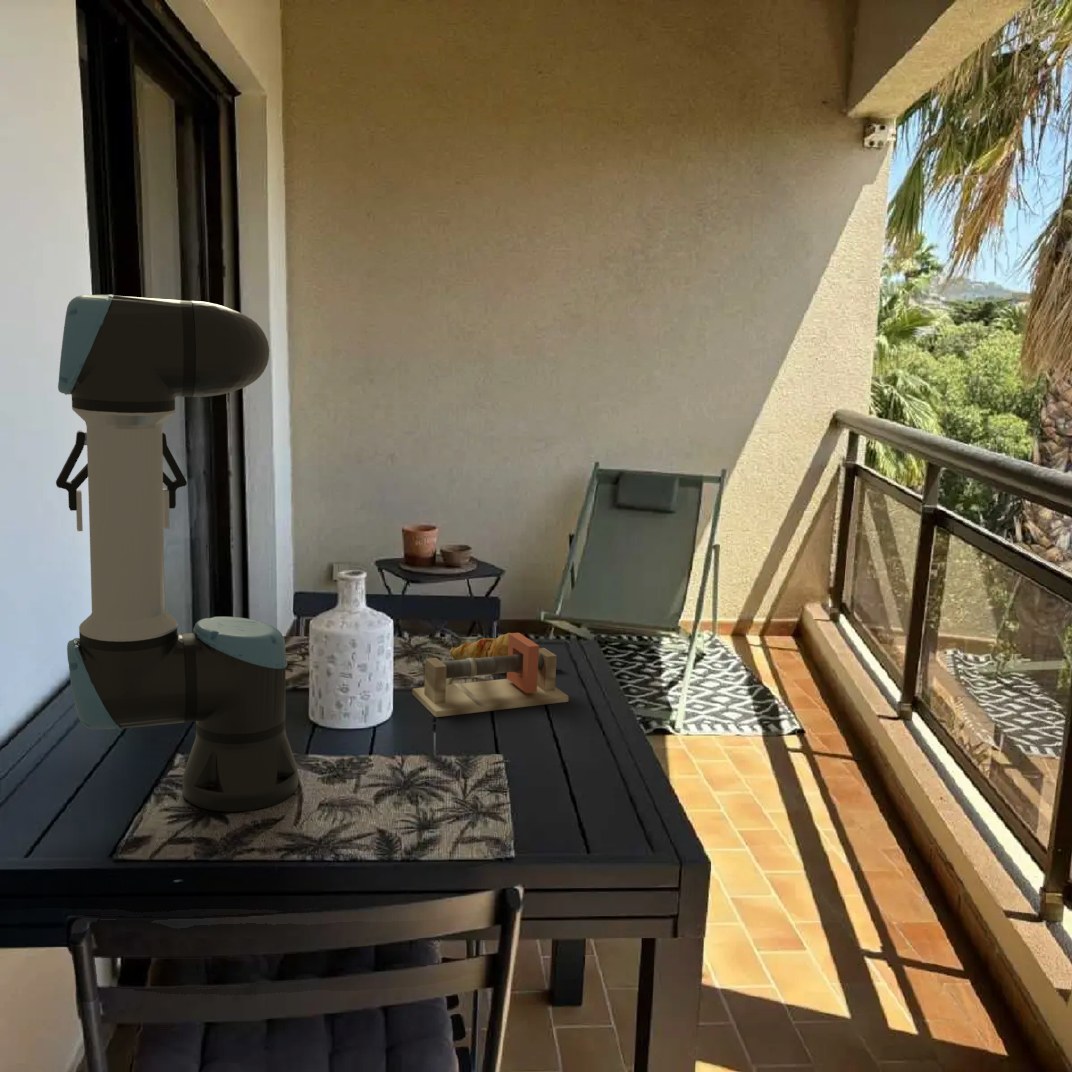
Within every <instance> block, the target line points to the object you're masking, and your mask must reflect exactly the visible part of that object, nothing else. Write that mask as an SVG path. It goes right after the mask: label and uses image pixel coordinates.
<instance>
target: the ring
mask: <svg viewBox="0 0 1072 1072" xmlns="http://www.w3.org/2000/svg"><path fill="white" fill-rule="evenodd" d="M508 633H509V641H508V655H517V654H523V671H516V672H507V673H506V679H508V680H510V681H511V682H512V683H514V684H515V685H516V686H517V687H519V688H520V689H521V690H523V691H524V692H525V693H533V692H537V677H538V659H539V648H540V645H539V644H537V643H536V642H534V641H533V640H531V639H529V638H528V637H526V636H525V635H524V634H522V633H520V632H508Z"/></svg>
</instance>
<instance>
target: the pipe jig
mask: <svg viewBox="0 0 1072 1072" xmlns="http://www.w3.org/2000/svg"><path fill="white" fill-rule="evenodd" d="M557 657H558V656H557V654H556V655H555V653H554V654H553V652H551V651H550V650H548V649H547V648H545V647H539V659H538V677H537V692H533V693H525V692H524V691H523V690H521V689H520V688H519V687H517V686H516V685H515V684H514V683H512V682H511V681H510V680H508V679H507V678H503V679H492V680H484V681H483V680H481V681H473V682H463V683H461V682H460V683H451V684H447V679H455V678H457V679H458V678H464V677H465V678H466V677H468V678H473V677H474V678H475V677H476V676H485V675H494V674H505V673H506V674H507V672H516V671H523V654H517V655H506V656H495V657H484V658H467V659H462V660H456V659H453V660H444V661H441V660H440V659H438V657H429V658H425V661H424V662H425V664H424V667H425V668H424V686H423V687H415V688H412V690H411V691H412V692H411V694H412V696H414V697H415V699H417V700H418V702H420V703H421V705H423V706H424V708H426V709H427V710H428V711H429V712H430V713H431V714H432V715H433V716H434V717H435V718H439V717H441V718H442V717H448V716H449V717H450V716H457V715H464V714H465V715H466V714H474V713H482V712H483V713H484V712H492V711H499V710H509V709H516V708H517V709H518V708H524V707H525V708H526V707H533V706H534V707H535V706H543V705H550V704H551V705H552V704H559V703H567V702H569V695H567V693H565V692H563V691H562V690H561V689H559V688H557V686H556V675H557V673H556V672H557V659H558V658H557Z"/></svg>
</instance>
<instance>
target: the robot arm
mask: <svg viewBox="0 0 1072 1072" xmlns="http://www.w3.org/2000/svg"><path fill="white" fill-rule="evenodd" d="M64 318H65V319H64V326H63V333H62V342H61V349H60V350H61V351H60V361H59V369H58V370H59V373H58V383H57V389H58V392H59V393H61V394H64V395H65V396H67V395H71V409H72V411H73V412H74V413H75V414H76V415H78V416H79V417H80V418H81V420H83V421H84V422H85V425H86V432H85V431H83V430H80V429H79V430H77V432H76V436H75V437H76V438H75V444H74V446H73V448H72V450H71V452H70V453H69V456H68V457H67V460H66V461H65V463H64V465H63V467H62V469H61V470H60V473H59V474H58V477H57V479H56V481H55V485H56V487H57V488H59V489H64V490H66V491H67V493H68V494H67V496H68V508H69V511H71V512H73V511H75V512H76V513H75V514H76V530H77V532H83V502H82V501H83V500H82V499H83V498H82V496H83V495H82V490H81V489H79V487H80V486H81V485H82V484H83V483H84V482H85V481H86V480H87V484H88V486H87V487H88V489H87V490H88V515H89V516H88V520H89V521H88V523H89V525H88V526H89V557H90V558H89V559H90V561H89V562H90V589H91V590H90V591H91V592H90V594H91V598H90V599H91V614H90V615H89V616H88V617H86V618H85V619H84V620H83V621H82V622H81V623H80V625H79V626H78V631H79V633H78V634H79V637H75V638H73V639H71V640H69V641H67V647H66V652H67V653H66V654H67V663H68V669H69V678H70V679H69V680H70V686H71V690H72V691H71V692H72V695H73V701H74V705H75V709H76V714H77V717H78V720H79V721H80V723H81V724H82V725H83V726H84V727H85V728H87V729H88V730H95V731H97V730H115V729H116V730H117V731H122V730H124V729H129V728H141V727H150V726H159V725H160V726H162V725H171V724H181V723H191V722H195V738H194V742H193V744H192V747H191V750H190V752H189V756H188V760H187V762H186V765H185V768H184V771H183V775H182V795H183V797H184V799H185V800H186V801H187V802H188V803H190V804H192V805H194V806H195V807H198V808H201V809H205V810H209V811H217V812H245V811H247V812H248V811H253V810H258V809H264V808H267V807H271V806H273V805H275V804H276V805H277V804H279V803H281V802H282V801H284V800H287V799H288V798H289V797H291V796H292V795H293V794H294V793H295V792H296V791H297V789H298V785H299V783H298V782H299V770H298V764H297V762H296V760H295V756H294V754H293V751H292V747H291V745H290V741H289V738H288V736H287V732H286V673H287V672H286V671H287V670H286V668H287V667H288V660H287V656H286V655H287V653H286V641H285V637H284V635H283V634H282V632H281V630H280V629H278V628H276V627H275V626H273V625H271V624H269V623H266V622H263V621H259V620H257V619H250V618H247V617H246V618H245V617H239V616H238V617H237V616H211V617H207V618H206V617H205V618H201V619H200V620H198V621H197V622H196V623H195V625H194V627H193V632H184V633H181V632H179V633H178V621H177V620H176V618H175V617H174V616H173V615H171V614H170V613H169V612H167V611H166V609H165V552H164V551H165V548H164V547H165V545H164V543H165V542H164V538H165V537H164V534H165V533H164V529H166V530H167V529H168V530H169V529H170V509H176V505H177V503H176V501H177V496H176V495H177V494H176V493H177V492H176V491H177V489H180V488H182V487H185V486H187V483H188V482H187V480H186V477H185V475H184V474H183V472H182V471H181V469H180V467H179V465H178V463H177V461H176V459H175V457H174V456H173V454H172V452H171V450H170V449H169V446H168V442H167V436H166V433H165V432H163V426H164V423H166V421H167V420H168V419H170V417H172V415H173V414H174V413H176V397H177V398H178V397H180V398H181V397H184V398H192V397H194V398H201V397H202V398H204V397H205V398H207V397H214V396H215V397H216V396H221V395H225V394H230V393H233V392H235V391H238V390H241V389H243V388H246V387H248V386H250V385H251V384H253V383H254V382H256V381H257V380H258V379H259V378H260V377H261V376H262V375H263V374H264V372H265V371H266V368H267V366H268V363H269V360H270V346H269V341H268V338H267V336H266V333H265V332H264V330H263V329H262V327H260V325H259V324H258V323H257V322H256V321H254V320H253V319H252V318H251V317H249V316H247V315H245V314H243V313H242V312H239V311H237V310H234V309H231V308H229V307H226V306H225V305H220V304H217V303H212V302H207V301H198V300H180V299H179V300H178V299H165V298H152V297H151V298H150V297H139V296H138V297H137V296H125V295H124V296H123V295H114V294H112V293H111V294H82V295H78V296H75V297H74V298H71V300H70V301H69V303H68V305H67V307H66V312H65V317H64ZM85 446H86V448H87V449H86V451H87V452H86V456H87V457H86V458H87V463H86V464H85V465H84V466H83V468H82V469H81V470H80V471H79V472H78V473H77V474H76V475H75V476H74V477H73V478H72V480H71V481H68V480H69V477H70V475H71V474H72V472H73V469H74V468H75V466H76V464H77V461H78V460H79V458H80V456H81V454H82V452H83V451H84V447H85ZM163 457H164V460H165V461H166V463H167V465H168V467H169V468H170V471H171V472H172V474H173V477H174V478H175V480H171V479H170V477H169V476H168V475H167V474H166V473H165V472H164V469H163V468H164V466H163V463H164V462H163ZM164 485H165V486H166V488H164Z"/></svg>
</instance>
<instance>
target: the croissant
mask: <svg viewBox="0 0 1072 1072" xmlns="http://www.w3.org/2000/svg"><path fill="white" fill-rule="evenodd" d="M509 633H510V632H506V633H505V634H501V635H498V637H496V638H495V637H494V638H493V637H492V638H489V637H488V638H481V639H478V640H477V641H474V642H465V643H463V644H460V645H459V646H458V647H451V648H450V650H449V653H450V657H451V658H452V659H453V660H462V659H467V658H484V657H495V656H506V655H508V641H509ZM552 653H553V652H552ZM553 654H555V653H553ZM555 655H556V656H557V654H555Z"/></svg>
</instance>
